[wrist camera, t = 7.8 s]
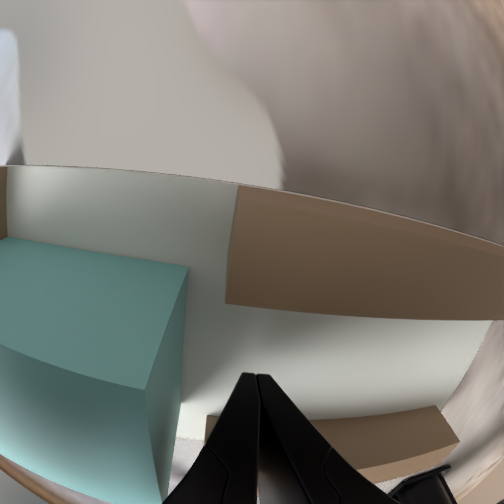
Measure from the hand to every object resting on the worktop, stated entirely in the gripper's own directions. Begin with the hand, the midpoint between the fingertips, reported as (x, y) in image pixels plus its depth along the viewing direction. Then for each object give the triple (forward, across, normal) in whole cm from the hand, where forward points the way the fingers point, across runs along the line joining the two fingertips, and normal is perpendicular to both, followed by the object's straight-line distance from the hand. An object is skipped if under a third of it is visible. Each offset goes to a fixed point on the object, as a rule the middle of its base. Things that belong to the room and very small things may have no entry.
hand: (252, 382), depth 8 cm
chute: (+2, -1, 0) cm, 2 cm away
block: (+1, +6, 0) cm, 6 cm away
